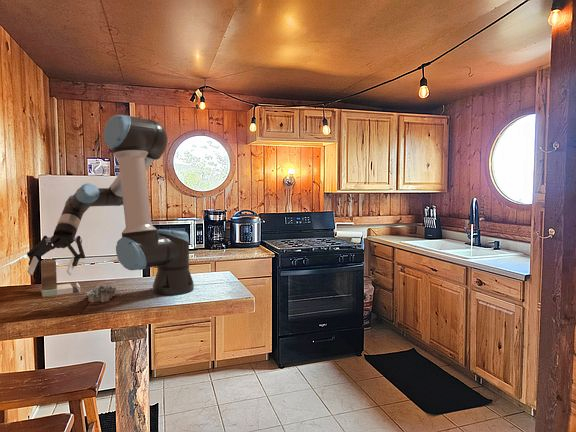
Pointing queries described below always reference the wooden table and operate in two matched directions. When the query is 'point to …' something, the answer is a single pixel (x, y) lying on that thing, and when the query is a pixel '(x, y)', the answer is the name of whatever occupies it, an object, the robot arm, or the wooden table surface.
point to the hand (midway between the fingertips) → (49, 273)
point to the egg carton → (101, 293)
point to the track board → (61, 290)
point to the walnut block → (48, 275)
